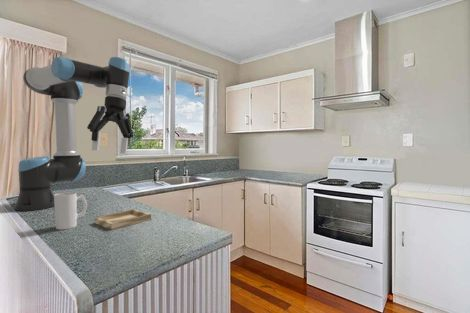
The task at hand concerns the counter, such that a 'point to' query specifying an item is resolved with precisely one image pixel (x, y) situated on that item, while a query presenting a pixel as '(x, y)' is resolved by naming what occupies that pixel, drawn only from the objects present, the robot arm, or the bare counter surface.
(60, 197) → the mug
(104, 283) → the counter surface
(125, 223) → the keeper tray
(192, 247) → the counter surface
